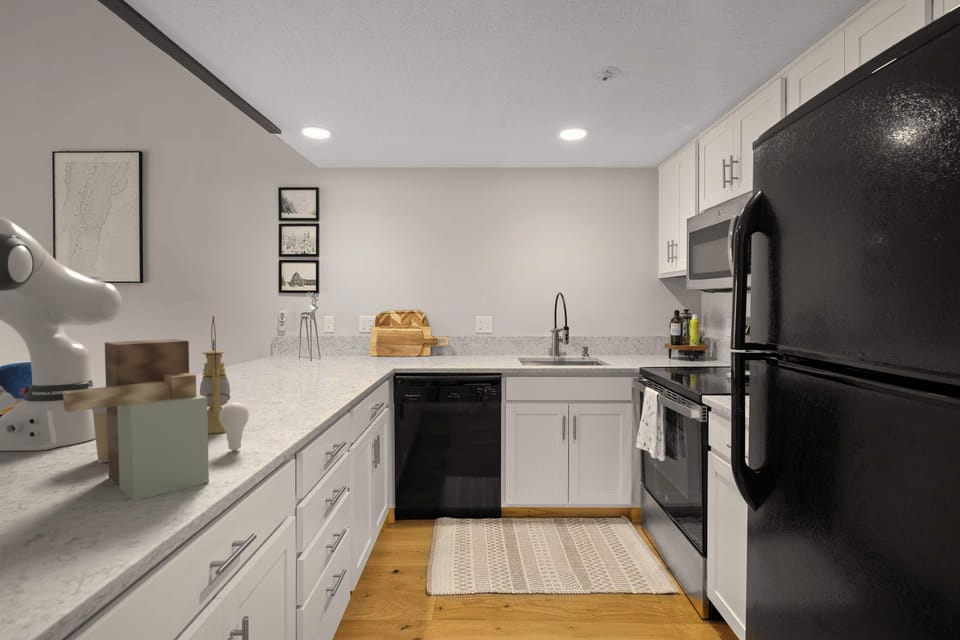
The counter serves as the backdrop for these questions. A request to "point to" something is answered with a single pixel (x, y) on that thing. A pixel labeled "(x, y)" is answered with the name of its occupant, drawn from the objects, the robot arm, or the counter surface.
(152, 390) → the beech mallet
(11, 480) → the counter surface
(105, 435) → the coffee cup
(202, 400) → the sage step
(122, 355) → the walnut shelf
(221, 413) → the lightbulb
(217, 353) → the lantern
